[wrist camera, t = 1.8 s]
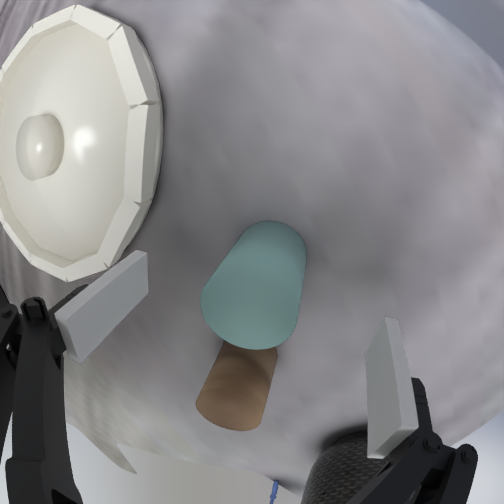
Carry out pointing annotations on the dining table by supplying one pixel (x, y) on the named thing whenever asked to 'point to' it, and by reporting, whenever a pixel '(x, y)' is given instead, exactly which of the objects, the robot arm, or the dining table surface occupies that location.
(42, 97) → the round cream tray
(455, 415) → the dining table surface
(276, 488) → the baby rattle
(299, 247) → the teal cylinder
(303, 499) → the planter
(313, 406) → the dining table surface
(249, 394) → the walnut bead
